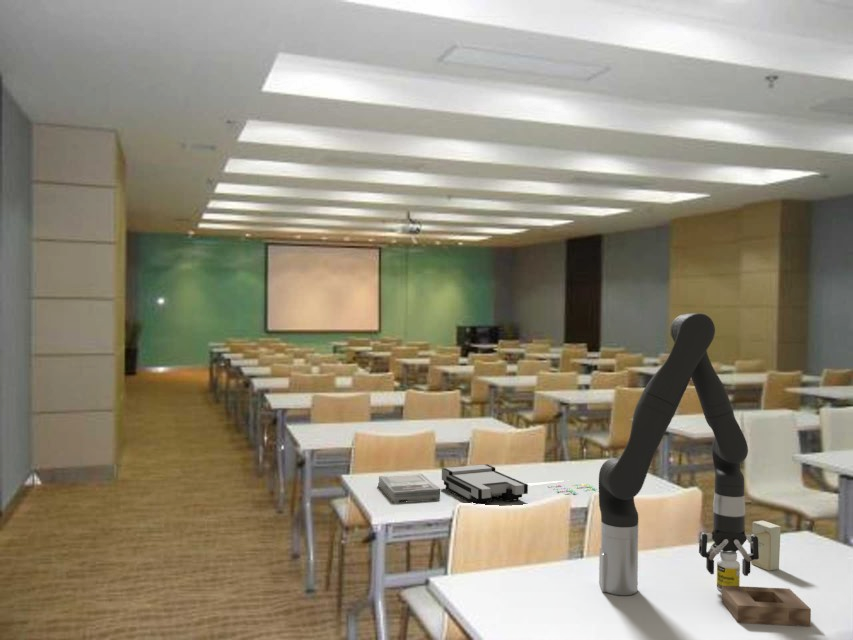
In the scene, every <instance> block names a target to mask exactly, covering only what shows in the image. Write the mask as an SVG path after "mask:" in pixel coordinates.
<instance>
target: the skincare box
mask: <svg viewBox="0 0 853 640" xmlns="http://www.w3.org/2000/svg"><path fill="white" fill-rule="evenodd" d="M781 527H782V526H781V525H779V524H775V523H773V522H772V523H771V522H769V521H766V520H757V521H753V522H752V533H751V534H754V535H756V536H757V537H758V550H759V558H758V559H757V560H755V559H754V560H752V561H751V563H750V565H754V566H756V567H759V568H760V569H763V570H765V571H768V572H770V571H774V570H779V569H780V552H781V551H780V550H781V549H780V548H781Z"/></svg>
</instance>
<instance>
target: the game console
mask: <svg viewBox="0 0 853 640" xmlns="http://www.w3.org/2000/svg"><path fill="white" fill-rule="evenodd" d="M441 480H442V481H443V485H444V486H445V490H447V489H448V490H447V491H449V492H450V491H451V493H452V492H453V493H452V494H454V493H455V494H454V495H455V496H458V497H459V496H460V498H461V499H463V500H464V501H467V502H469V503H470V502H473V503H481V504H488V503H489V502H490V501H492V497H496V498H498V499H500V500H502V501H503V502H508V501H509V502H510V501H517V500H518V501H519V499H520V498H523V495H527V494H528V491H529V490H528V489H529V487H528V486H529V485H528V484H527V483H525V482H523V481H520V480H518V479H516V478H513V477H510V476H508V475H506V474H504V473H502V472H500V471H497V470H496V467H494V466H493V465H490V464H488V463H487V464H478V465H477V464H476V465H465V466H454V467H444V468H441ZM481 504H480V505H481Z"/></svg>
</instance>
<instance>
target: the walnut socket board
mask: <svg viewBox="0 0 853 640" xmlns="http://www.w3.org/2000/svg"><path fill="white" fill-rule="evenodd" d="M720 601H721V603H722V604H723V605H724V607H725V608H726V610H727V611H728V612H729V613H730V615H731V617H733V619H734V620H735V621H736V622H737V623H738V624H753V625H754V624H755V625H756V624H757V625H759V624H760V625H774V626H775V625H777V626H778V625H779V626H793V625H795V627H796V626H797V625H803V626H802V627H811V626H812V625H811V624H812V623H811V621H812V620H811V618H812V616H811V615H812V614H811V611H812V609H811V608H810V606H808V604H806V603H805V602H804V601H803V600H802V599H801V597H799V596H798V595H797V594H796V593H794V591H792V590H791V588H782V587H781V588H780V587H764V586H759V587H758V586H742V585H741V586H740V585H739V586H722V591H721V599H720ZM805 625H806V626H805ZM797 627H798V626H797Z"/></svg>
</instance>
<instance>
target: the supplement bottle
mask: <svg viewBox="0 0 853 640" xmlns="http://www.w3.org/2000/svg"><path fill="white" fill-rule="evenodd" d="M719 556H720V558H718V560H716V589H717V590H718V591H720V592H722V586H740V583H741V582H740V580H741V579H740V577H741V575H740V571H741V565H740V562H739V561H738V560H737V559H738V552H737V551H736V552H732V551H723V550H721V551H720V553H719Z"/></svg>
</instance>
